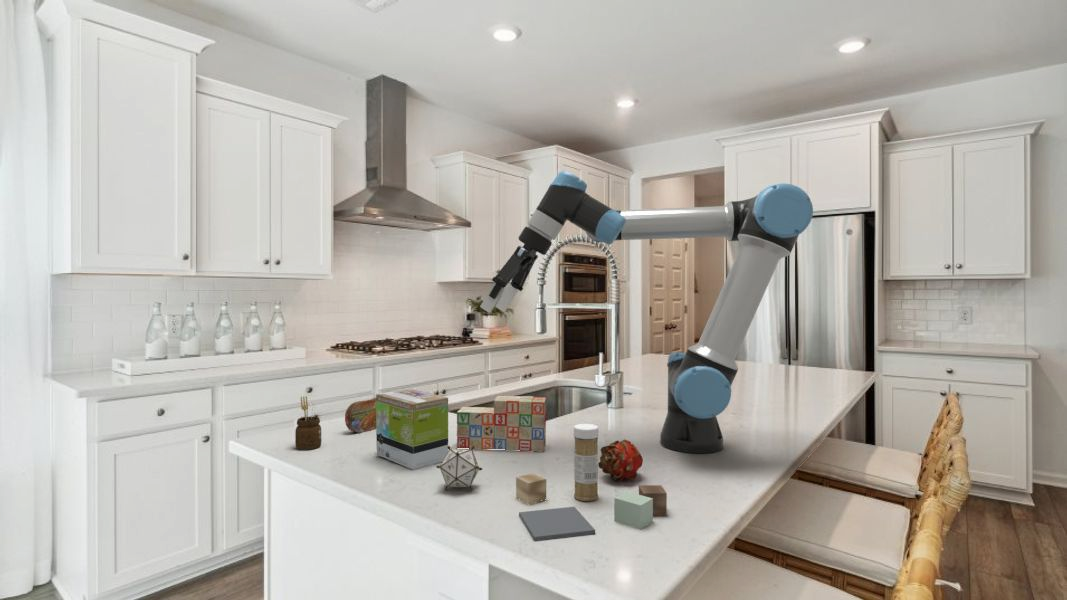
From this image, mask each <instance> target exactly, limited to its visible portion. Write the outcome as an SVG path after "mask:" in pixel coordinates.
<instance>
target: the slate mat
mask: <svg viewBox="0 0 1067 600" xmlns="http://www.w3.org/2000/svg"><path fill="white" fill-rule="evenodd" d="M518 516H519V518H520V520H521V521H522V523H523V525H524V527H525V528H526V529H527V531H528V533H529V534H530V536H531V538H532V539H533V541H534V542H535V541H536V542H537V541H546V540H552V539H561V538H563V539H564V538H569V537H577V536H578V537H579V536H580V537H581V536H587V535H595V534H596V529H595V527H593V526H592V525H591V523H590V522H589V521H588V520H587V519H586V518H585V517H584V515H583V514H582V512H580V511H579V510H578V509H577V508H576V506H566V507H559V508H558V507H557V508H549V509H548V508H547V509H537V510H529V511H519V512H518Z"/></svg>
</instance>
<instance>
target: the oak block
mask: <svg viewBox="0 0 1067 600" xmlns="http://www.w3.org/2000/svg"><path fill="white" fill-rule="evenodd" d="M515 478H516V479H515V486H516V487H515V498H516V499H517V500H519V499H520V500H521V502H522V501H523V503H524V502H525V504H526V503H527V504H526V505H528V504H530V505H533V504H532V503H534V504H536V503H535V502H537V503H539V502H538V501H541V500H545V499H546V500H547V478H546V477H543V476H540V475H538V474H537V473H535V472H533V473H529V474H524V475H519V476H516V477H515ZM520 500H519V501H520ZM546 500H545V501H546ZM541 502H542V501H541Z"/></svg>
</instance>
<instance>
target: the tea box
mask: <svg viewBox="0 0 1067 600" xmlns="http://www.w3.org/2000/svg"><path fill="white" fill-rule="evenodd" d="M375 398H376V429H375V430H376V435H375V436H376V443H375V446H376V456H377V457H381V458H384V459H387V461H392V462H393V463H396V464H397V465H398V464H399V465H401V466H403V467H406V468H407V469H410V470H412V471H415V470H418V469H423V468H426V467H429V466H432V465H433V466H434V465H436V464H439V463H440V464H441V463H442V462H443V460H444V458H445V456H446V455H447V453H448V451H449V449H448V446H449V397H447V396H443V395H442V396H441V395H439V394H434V393H429V392H425V391H421V390H417V389H412V388H408V389H401V390H395V391H390V392H384V393H376V395H375Z"/></svg>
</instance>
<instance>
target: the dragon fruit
mask: <svg viewBox="0 0 1067 600" xmlns="http://www.w3.org/2000/svg"><path fill="white" fill-rule="evenodd" d="M600 453H601V455H600V457H599V461H598V469H602V472H603V473H604V474H606V475H610V478H611V479H612V480H615V481H616V482H621V481H623V480H624V478H626V479H628V480H633V481H634V480H636V479H637V476H638V475H637V473H638V470H639V469H641V467H642V465H643V462H644V461H643V456H642V454H641V453H640V451H639V449H638V447H637V446H636V445H635V444H634V443H632V442H631V441H630V440H628V439H625V438H624V439H622V440H614V441H613V442H611V443H610V444H609V445H606V446H602V447H601V448H600Z"/></svg>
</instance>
